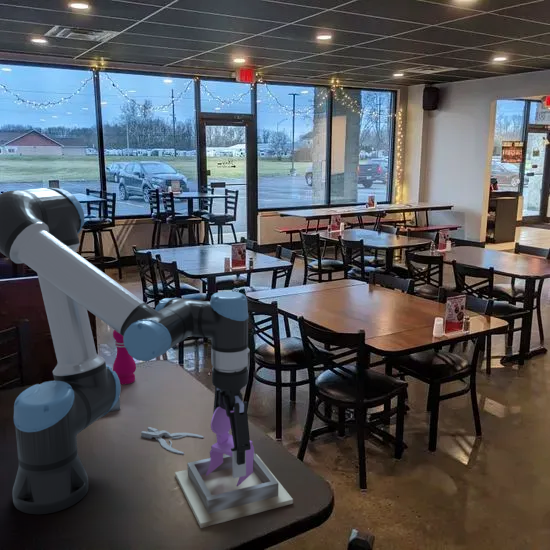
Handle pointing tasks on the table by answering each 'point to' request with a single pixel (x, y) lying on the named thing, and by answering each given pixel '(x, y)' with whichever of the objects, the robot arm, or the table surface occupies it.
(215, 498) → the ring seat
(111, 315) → the robot arm
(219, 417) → the toy chair
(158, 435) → the pliers
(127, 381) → the pepper mill
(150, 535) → the table surface
